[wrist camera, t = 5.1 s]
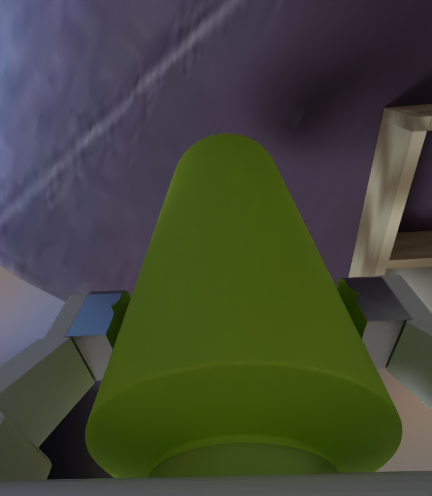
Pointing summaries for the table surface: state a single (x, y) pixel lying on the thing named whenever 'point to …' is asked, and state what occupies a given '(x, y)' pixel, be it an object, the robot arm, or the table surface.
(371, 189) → the frame
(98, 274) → the table surface
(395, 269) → the cylindrical container
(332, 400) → the soap dispenser
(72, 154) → the table surface
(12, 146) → the table surface
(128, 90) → the table surface
